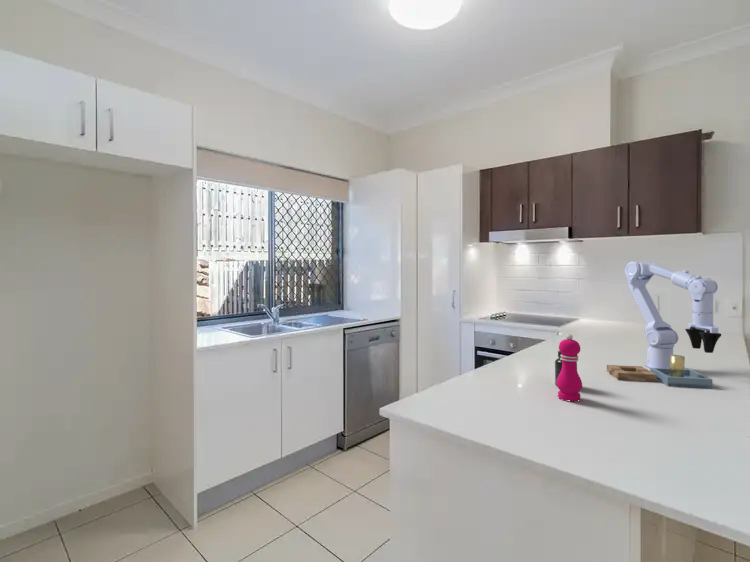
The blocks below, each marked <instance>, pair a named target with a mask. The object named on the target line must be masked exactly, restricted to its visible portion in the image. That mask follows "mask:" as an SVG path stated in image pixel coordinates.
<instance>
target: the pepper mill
mask: <svg viewBox="0 0 750 562" xmlns="http://www.w3.org/2000/svg"><path fill="white" fill-rule="evenodd" d="M565 337H566V339H565V338H564V339H562V340H561V341H560V342H559V344H558V351H560V352H561V353H562V354H561V355H560V356H561V358H560V359H561V360H562V369H561V372H560V374H559V376H558V378H557V382H556V385H557V386H556V385H555V386H556V387H557V388H558V390H559V391H558V392H557V398H558V397H559V398H560V399H559V398H558V399H559V400H561V399H564V400H570V401H578V400H580V401H581V393H580V391H581V390H582V389H583V382H582V379H581V377H580V375H579V373H578V361H579V355H578V354H580V352H581V344H580V343H579V342H578V341H577V340H576V339H574V338H573V335H572V334H570V333H569V334H566V336H565ZM564 400H563V401H564ZM578 402H579V401H578Z"/></svg>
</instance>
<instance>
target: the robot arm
mask: <svg viewBox="0 0 750 562" xmlns="http://www.w3.org/2000/svg"><path fill="white" fill-rule="evenodd" d="M623 273H624V274H625V276H626V278H627V283H628V284H627V285H628V288H629V291H630V293H631V294H632V297H633V298H634V300H635V303H636V304H637V307H638V309H639V310H640V313H641V315H642V317H643V318H644V321H645V323H646V324H647V325H646V326H645V329H644V333H645V340H646V341H647V343H648V344H649V347H648V348H647V350H646V363H644V366H646V367H648V368H649V369H650V368H670V355H674V348H675V345H676V344H677V343H678V342H679V335H678V333H677V331H676V330H674V329H673V327H672V326H671V325H670V323H667V322H666V321H664V320H663V318H662V316H661V314H660V313H659V311H658V308H657V306H656V304H655V303H654V300H653V298H652V297H651V295H650V293H649V291H648V289H647V287H646V285H647V284H648V283H649V282H650V281H651V279H652V277H654V275H656V276H659V277H662V278H664V279H667V280H671V283H672V285H673V286H674V285H675V286H677V287H680V288H682V289H684V290H688V292H689V293H690V294H691V299H692V300H691V301H692V304H691V305H692V307H691V308H692V309H691V310H692V313H691V315H692V320H691V321H689V322H688V323H687V324H688V326H687V327H688V328H685V331H686V333H687V335H688V337H689V340H690V343H691V347H692V349H697V350H698V349H701V346H702V343H703V351H704V353H710V354H712V353H714V350H715V347H716V345H717V342H718V341H719V339H720V338H721V337H722V334H721V333H719V327H717V326H715V325H714V294H715V293H716V292H717V291H718V288H719V287H718V286H719V285H718V283H717V282H716V281H715V279H712V278H707V277H706V278H702V276H701V275H696V274H693V273H689V270H685V269H683V270H678V271H675V270H672V269H670V268H667V267H665V266H663V265H660V264H658V263H657V262H652V261H630V262H628V263H627V264H626V266H625V269H624V271H623Z"/></svg>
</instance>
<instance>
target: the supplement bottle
mask: <svg viewBox="0 0 750 562" xmlns="http://www.w3.org/2000/svg"><path fill="white" fill-rule="evenodd" d="M561 354H562V353H561V352H560V350H558V351H557V357H558V358H557V359H555V361H554V384H555V386H556V387H557V385H556V382H557V378H558V376H559V374H560V372H561V369H562V360H561V359H560V358H561V356H560V355H561Z"/></svg>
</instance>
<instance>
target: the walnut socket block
mask: <svg viewBox="0 0 750 562" xmlns="http://www.w3.org/2000/svg"><path fill="white" fill-rule="evenodd" d="M606 372H607V373H608V372H609V373H608V374H609V375H611V376H612V375H613V376H612V377H614V378H615V379H616V378H617V379H616V380H617V381H628V380H631V382H651V383H652V382H653V383H656V382H657V379H656V374H654V373H652V372H651V371H650V370H649V369H647V368H646V367H643V366H637V365H619V364H618V365H614V364H606Z"/></svg>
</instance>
